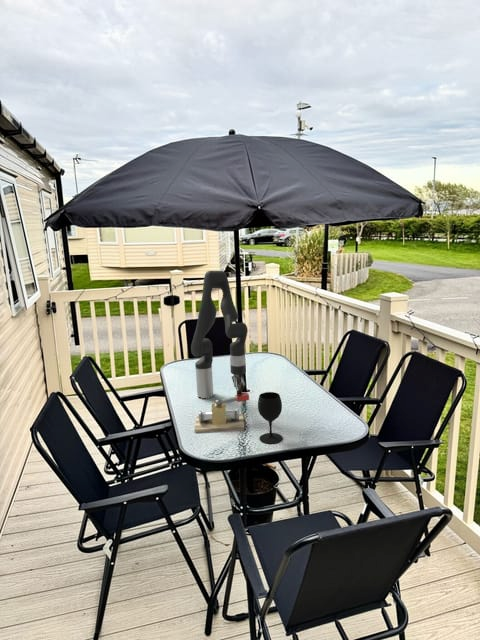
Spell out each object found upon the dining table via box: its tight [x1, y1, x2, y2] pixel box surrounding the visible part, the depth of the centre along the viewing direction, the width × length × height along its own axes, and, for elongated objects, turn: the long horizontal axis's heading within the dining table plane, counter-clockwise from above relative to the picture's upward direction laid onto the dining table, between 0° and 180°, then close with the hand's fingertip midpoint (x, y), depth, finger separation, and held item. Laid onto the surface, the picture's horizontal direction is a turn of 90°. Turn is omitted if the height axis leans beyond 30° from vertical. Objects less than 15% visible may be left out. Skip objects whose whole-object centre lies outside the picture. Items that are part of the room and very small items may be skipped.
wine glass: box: [257, 391, 284, 445], centre depth 186 cm, size 10×10×20 cm
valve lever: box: [214, 392, 250, 406], centre depth 206 cm, size 17×3×3 cm, turn 114°
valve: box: [198, 402, 240, 425], centre depth 204 cm, size 6×19×8 cm, turn 91°
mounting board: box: [193, 413, 245, 433], centre depth 205 cm, size 15×23×2 cm, turn 91°
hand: (239, 397), depth 211 cm, fingers closed
